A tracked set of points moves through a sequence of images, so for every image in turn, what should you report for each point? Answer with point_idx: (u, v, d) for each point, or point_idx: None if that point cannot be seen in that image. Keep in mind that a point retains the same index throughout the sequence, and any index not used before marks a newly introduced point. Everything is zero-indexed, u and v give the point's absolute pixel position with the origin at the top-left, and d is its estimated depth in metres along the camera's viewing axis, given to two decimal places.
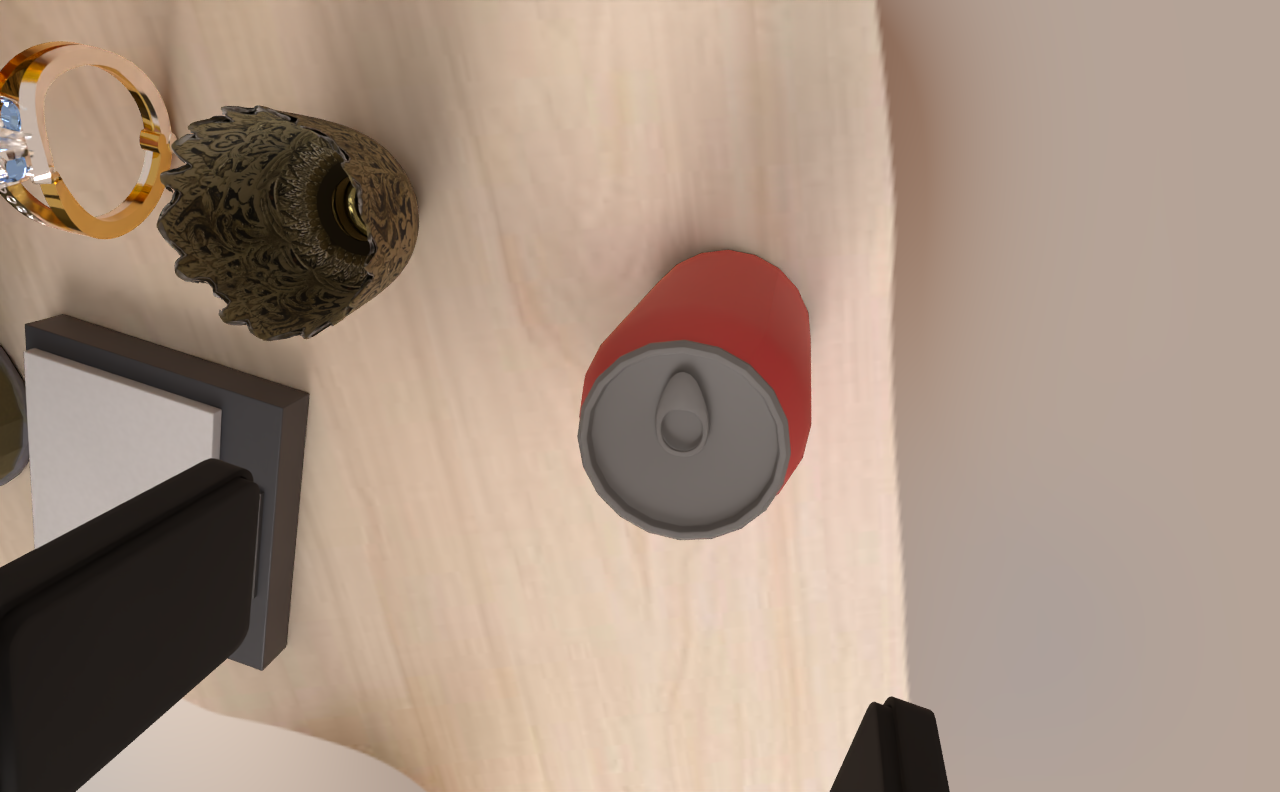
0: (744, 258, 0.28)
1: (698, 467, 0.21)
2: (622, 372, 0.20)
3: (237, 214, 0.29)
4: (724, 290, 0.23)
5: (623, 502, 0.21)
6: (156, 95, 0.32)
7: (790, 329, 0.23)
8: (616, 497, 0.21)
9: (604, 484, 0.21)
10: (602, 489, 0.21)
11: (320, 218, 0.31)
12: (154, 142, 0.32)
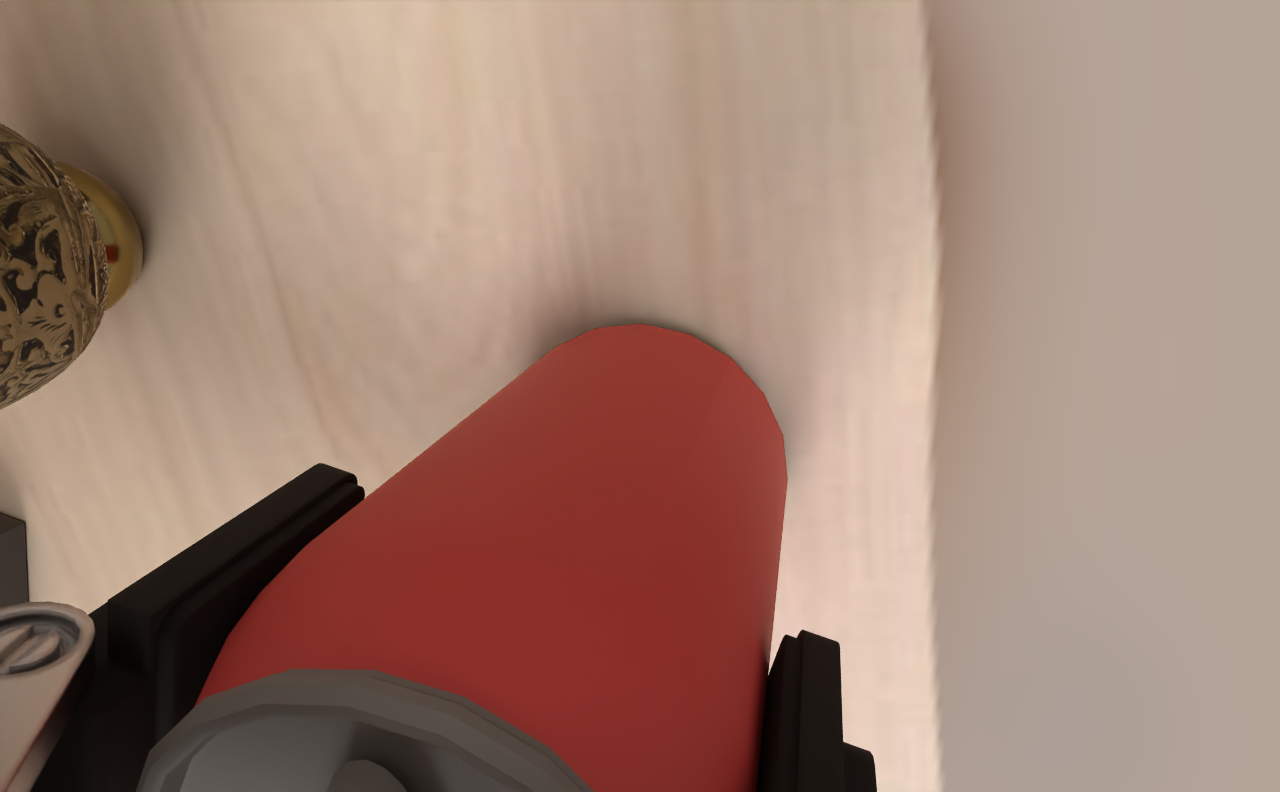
0: (664, 344, 0.16)
1: None
2: (223, 732, 0.07)
3: None
4: (569, 453, 0.10)
5: None
6: None
7: (720, 537, 0.10)
8: None
9: None
10: None
11: None
12: None
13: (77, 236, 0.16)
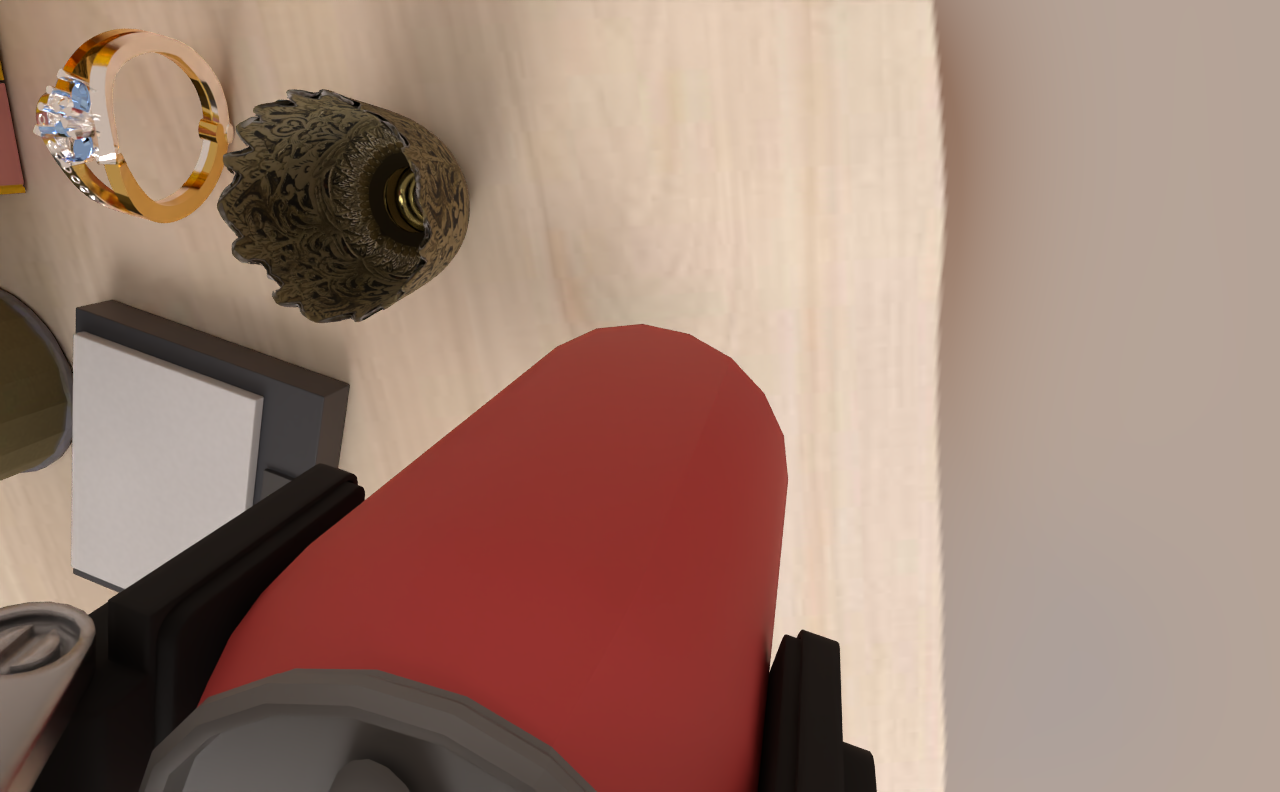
0: (665, 344, 0.16)
1: None
2: (226, 731, 0.07)
3: (293, 200, 0.29)
4: (571, 453, 0.10)
5: None
6: (217, 85, 0.32)
7: (721, 537, 0.10)
8: None
9: None
10: None
11: (371, 209, 0.32)
12: (212, 131, 0.33)
13: (466, 192, 0.29)
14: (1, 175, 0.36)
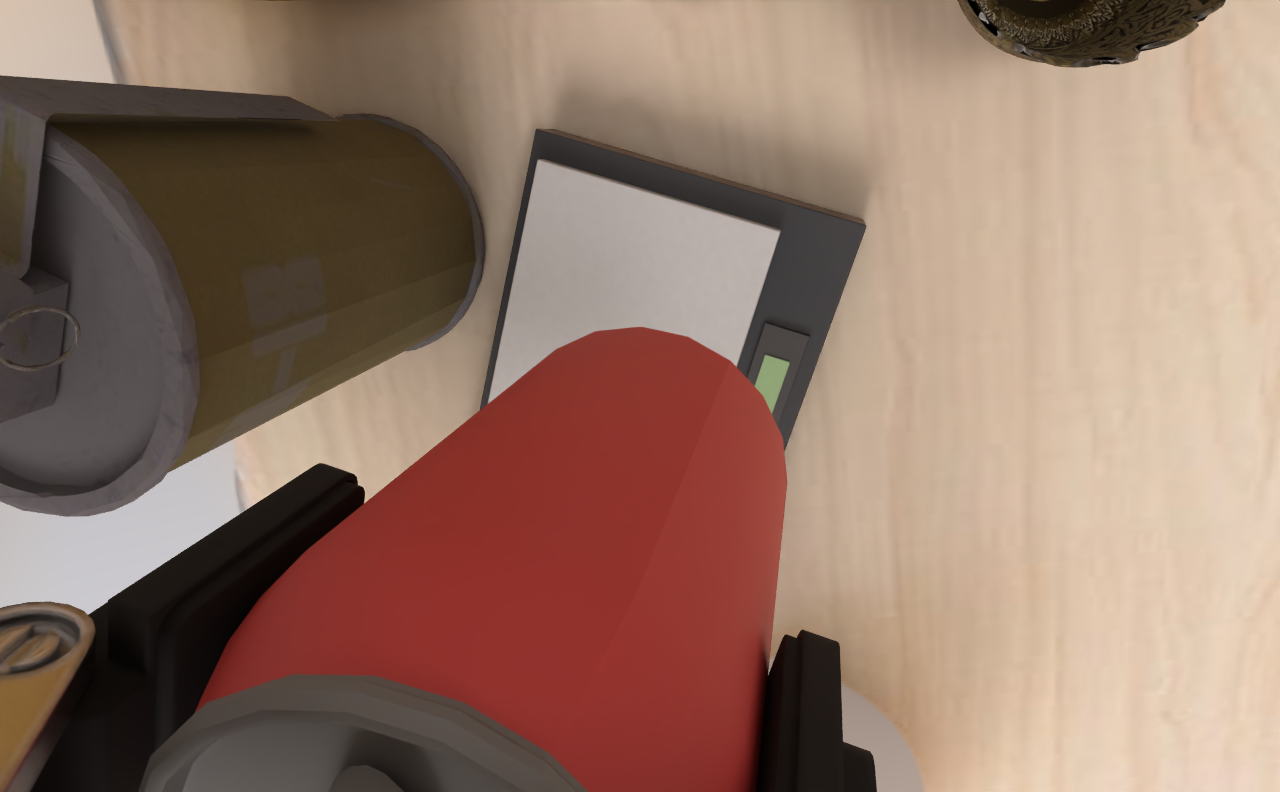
0: (664, 347, 0.16)
1: None
2: (224, 737, 0.07)
3: None
4: (569, 457, 0.10)
5: None
6: None
7: (719, 541, 0.10)
8: None
9: None
10: None
11: None
12: None
13: None
14: None
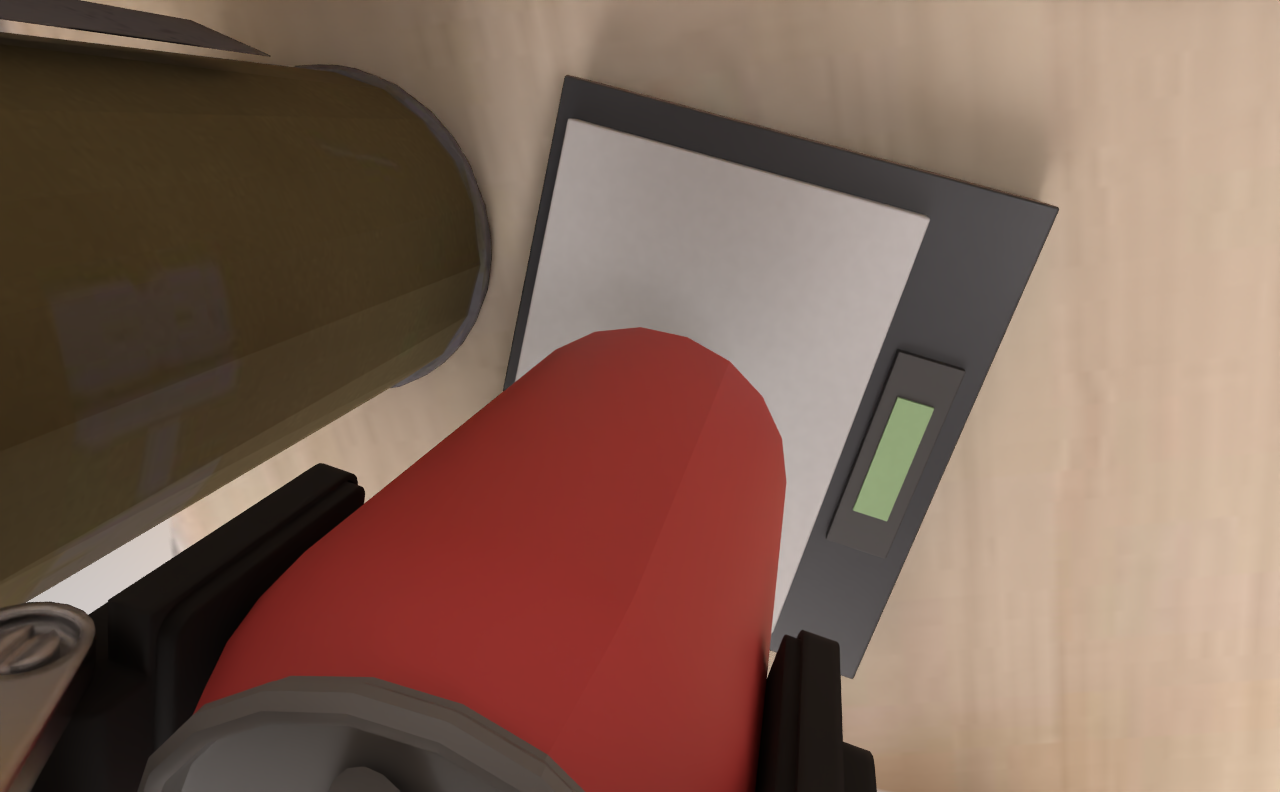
0: (663, 347, 0.16)
1: None
2: (222, 738, 0.07)
3: None
4: (568, 458, 0.10)
5: None
6: None
7: (718, 542, 0.10)
8: None
9: None
10: None
11: None
12: None
13: None
14: None
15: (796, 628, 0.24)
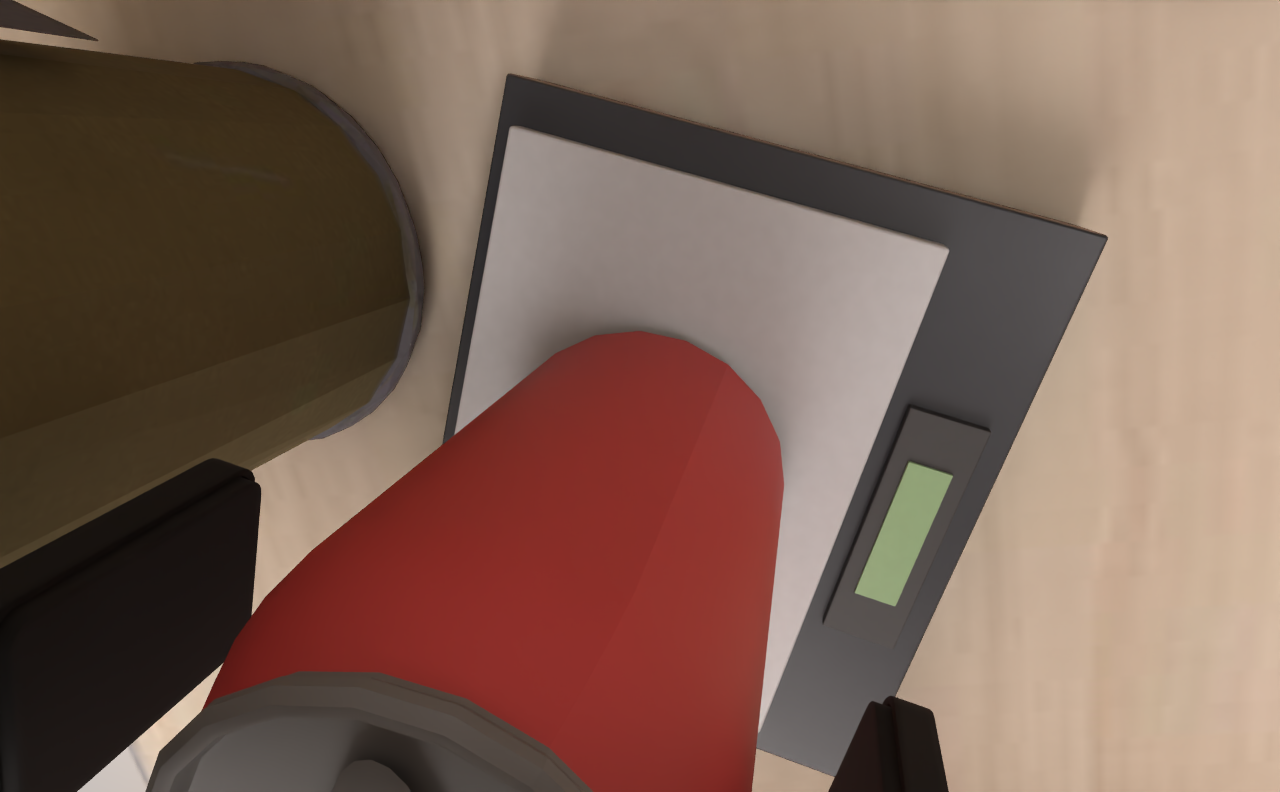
0: (662, 351, 0.16)
1: None
2: (231, 733, 0.08)
3: None
4: (568, 460, 0.10)
5: None
6: None
7: (716, 543, 0.11)
8: None
9: None
10: None
11: None
12: None
13: None
14: None
15: (788, 724, 0.21)
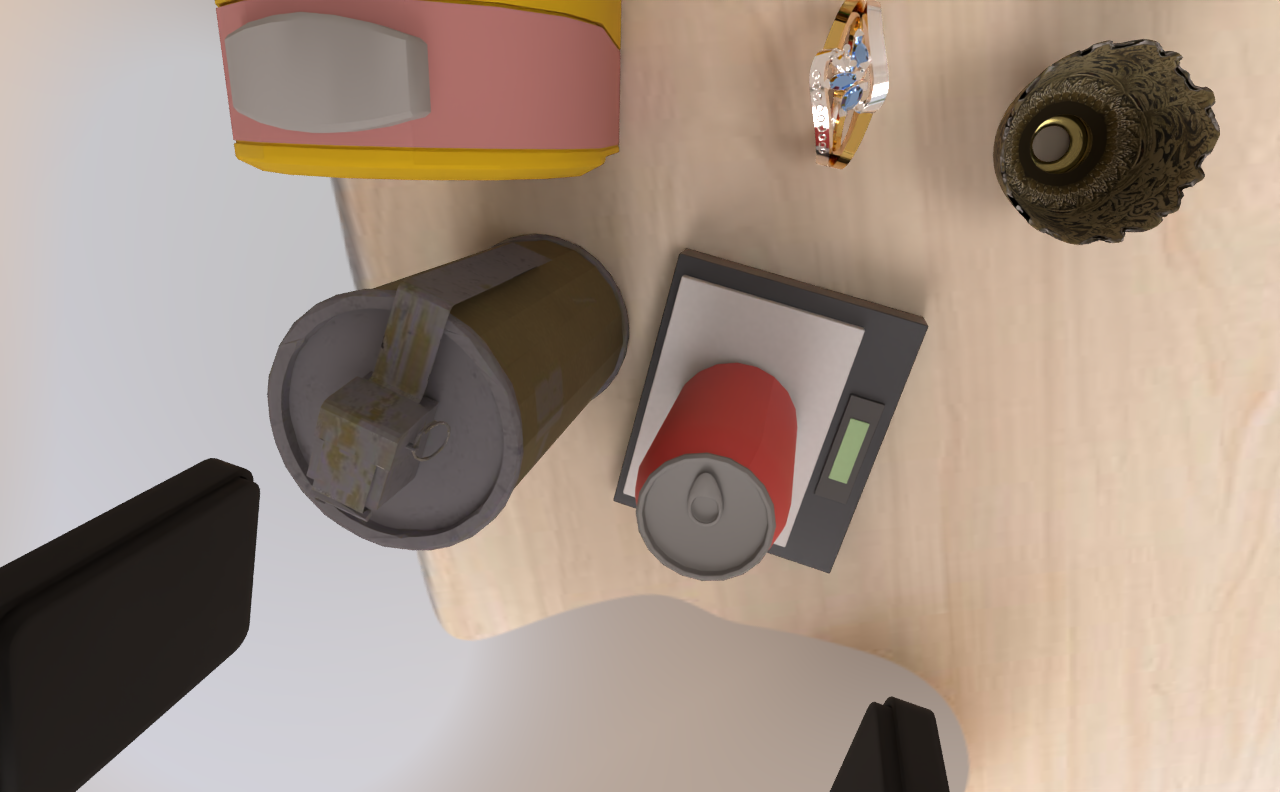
0: (748, 371, 0.39)
1: (715, 533, 0.31)
2: (666, 471, 0.31)
3: None
4: (733, 409, 0.34)
5: (665, 555, 0.32)
6: None
7: (778, 435, 0.34)
8: (660, 551, 0.32)
9: (653, 542, 0.32)
10: (651, 546, 0.32)
11: (1019, 153, 0.36)
12: None
13: None
14: (617, 135, 0.40)
15: (798, 545, 0.44)
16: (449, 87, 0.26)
